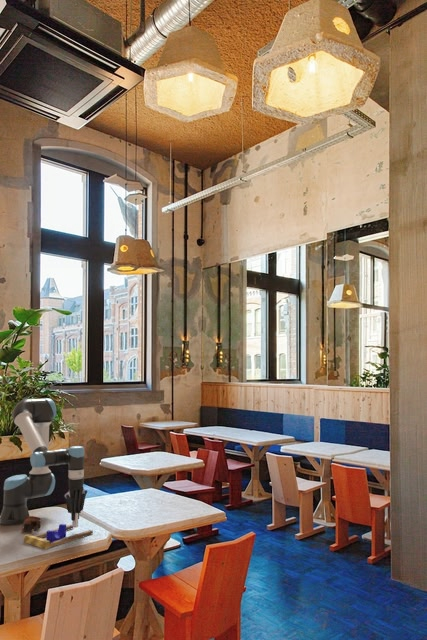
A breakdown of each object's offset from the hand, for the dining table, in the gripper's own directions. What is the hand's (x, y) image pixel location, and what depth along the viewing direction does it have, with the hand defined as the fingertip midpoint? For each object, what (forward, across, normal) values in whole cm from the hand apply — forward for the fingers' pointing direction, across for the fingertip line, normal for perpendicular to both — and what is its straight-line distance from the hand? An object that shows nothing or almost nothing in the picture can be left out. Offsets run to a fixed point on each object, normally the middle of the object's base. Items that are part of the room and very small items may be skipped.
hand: (75, 526), depth 254 cm
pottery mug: (+3, -11, +20) cm, 23 cm away
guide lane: (+3, -9, 0) cm, 9 cm away
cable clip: (+3, -13, -2) cm, 13 cm away
